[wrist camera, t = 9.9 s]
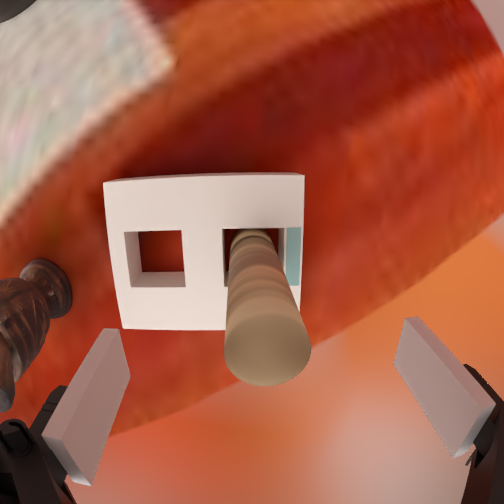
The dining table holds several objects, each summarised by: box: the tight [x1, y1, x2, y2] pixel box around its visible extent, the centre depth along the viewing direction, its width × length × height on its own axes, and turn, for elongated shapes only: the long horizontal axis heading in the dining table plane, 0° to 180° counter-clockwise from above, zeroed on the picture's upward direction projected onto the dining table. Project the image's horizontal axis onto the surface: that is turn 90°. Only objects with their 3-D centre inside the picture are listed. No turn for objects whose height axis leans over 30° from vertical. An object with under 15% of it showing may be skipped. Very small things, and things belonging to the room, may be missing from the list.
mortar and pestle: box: [0, 259, 72, 412], centre depth 22 cm, size 12×9×20 cm
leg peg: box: [224, 228, 311, 386], centre depth 23 cm, size 4×4×18 cm
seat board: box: [103, 172, 304, 330], centre depth 29 cm, size 14×17×4 cm
